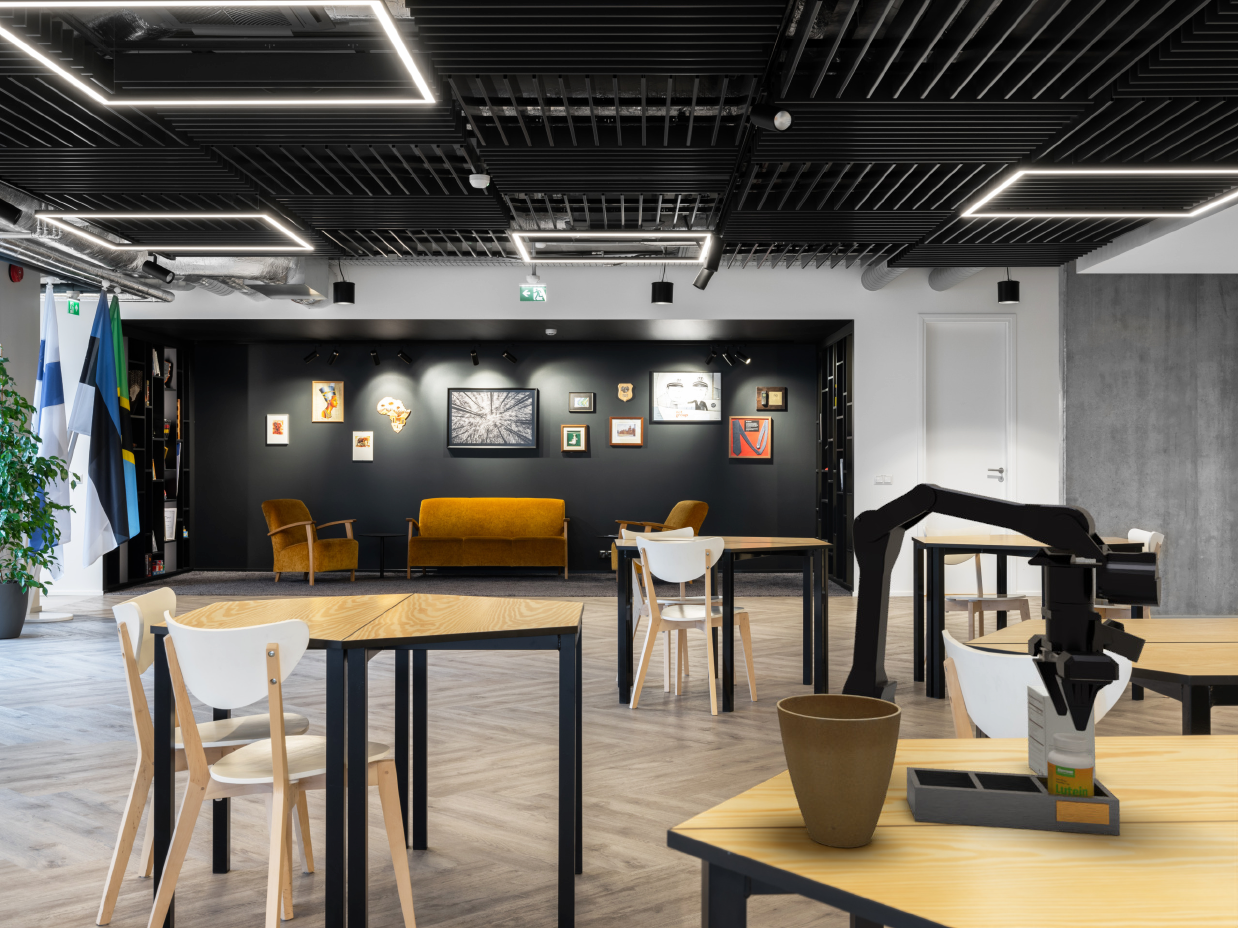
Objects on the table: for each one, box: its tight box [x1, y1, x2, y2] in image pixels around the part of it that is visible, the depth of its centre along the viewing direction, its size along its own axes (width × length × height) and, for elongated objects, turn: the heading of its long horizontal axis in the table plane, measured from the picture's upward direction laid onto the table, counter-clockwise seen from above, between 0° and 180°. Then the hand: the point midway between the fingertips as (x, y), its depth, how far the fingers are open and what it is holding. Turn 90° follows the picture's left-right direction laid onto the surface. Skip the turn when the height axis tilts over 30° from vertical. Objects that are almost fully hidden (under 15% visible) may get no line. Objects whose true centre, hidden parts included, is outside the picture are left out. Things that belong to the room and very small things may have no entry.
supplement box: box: [1026, 685, 1097, 779], centre depth 139 cm, size 7×7×13 cm
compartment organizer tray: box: [906, 766, 1121, 836], centre depth 120 cm, size 24×9×4 cm, turn 79°
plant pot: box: [776, 693, 902, 849], centre depth 113 cm, size 15×15×16 cm
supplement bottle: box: [1047, 733, 1094, 796], centre depth 119 cm, size 5×5×10 cm
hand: (1070, 722), depth 119 cm, fingers open, 8 cm apart
